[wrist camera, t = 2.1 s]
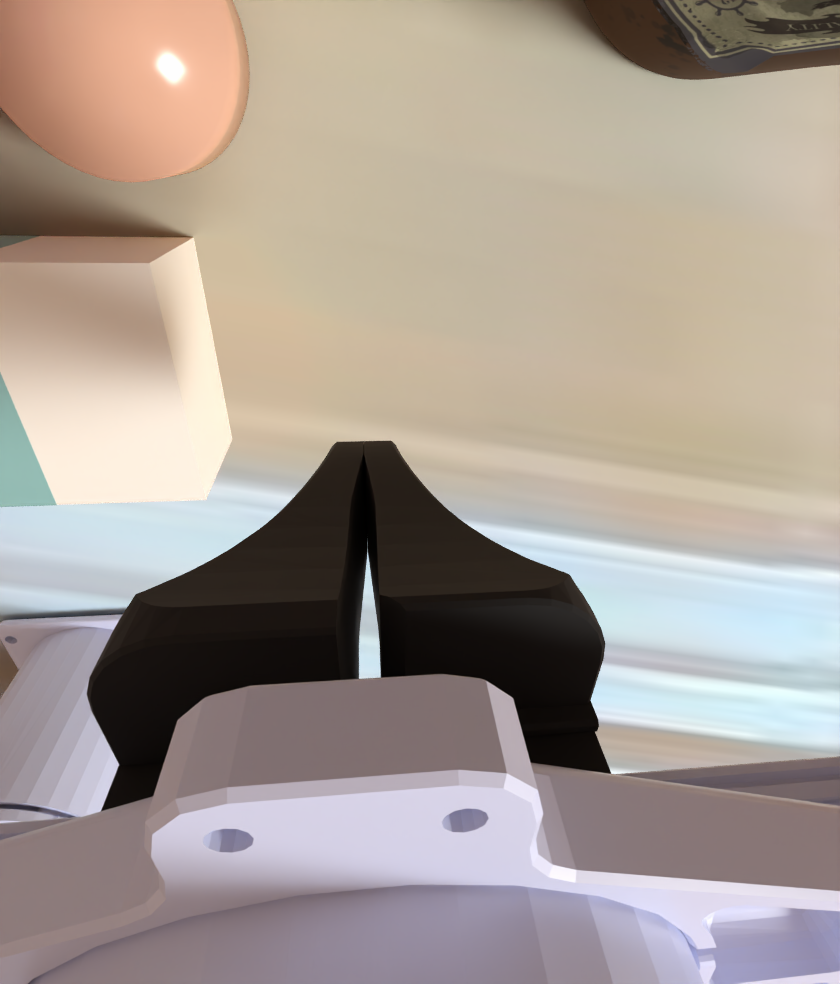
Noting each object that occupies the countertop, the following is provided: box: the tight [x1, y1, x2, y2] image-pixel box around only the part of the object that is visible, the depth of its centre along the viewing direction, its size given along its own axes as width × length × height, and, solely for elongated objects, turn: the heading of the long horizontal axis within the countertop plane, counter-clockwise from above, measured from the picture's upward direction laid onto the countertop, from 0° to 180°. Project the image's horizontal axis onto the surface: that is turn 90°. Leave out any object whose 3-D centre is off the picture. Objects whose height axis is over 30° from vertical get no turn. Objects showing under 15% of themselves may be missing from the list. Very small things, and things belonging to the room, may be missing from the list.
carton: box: [0, 235, 232, 507], centre depth 18 cm, size 8×9×4 cm
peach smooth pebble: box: [0, 0, 250, 182], centre depth 14 cm, size 6×6×3 cm
